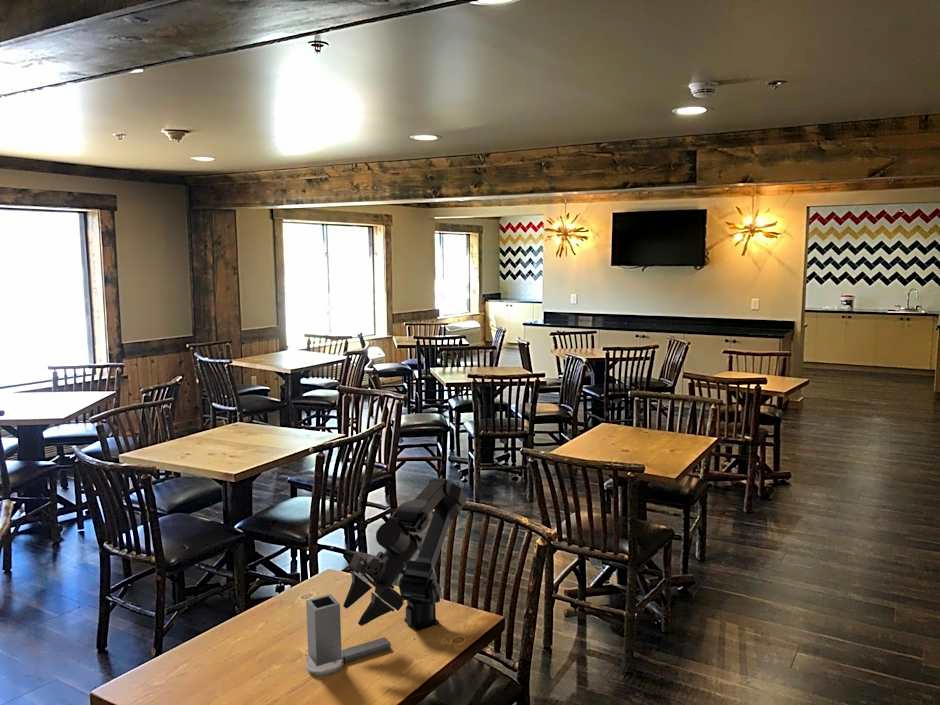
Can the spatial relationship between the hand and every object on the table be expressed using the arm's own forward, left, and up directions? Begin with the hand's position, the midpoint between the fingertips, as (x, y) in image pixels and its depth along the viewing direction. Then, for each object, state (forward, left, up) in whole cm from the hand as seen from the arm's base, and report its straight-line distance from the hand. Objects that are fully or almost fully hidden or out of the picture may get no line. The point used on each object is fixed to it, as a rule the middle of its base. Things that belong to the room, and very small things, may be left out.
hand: (352, 615), depth 157 cm
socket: (+7, 0, -7) cm, 10 cm away
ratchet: (+1, 0, -9) cm, 10 cm away
